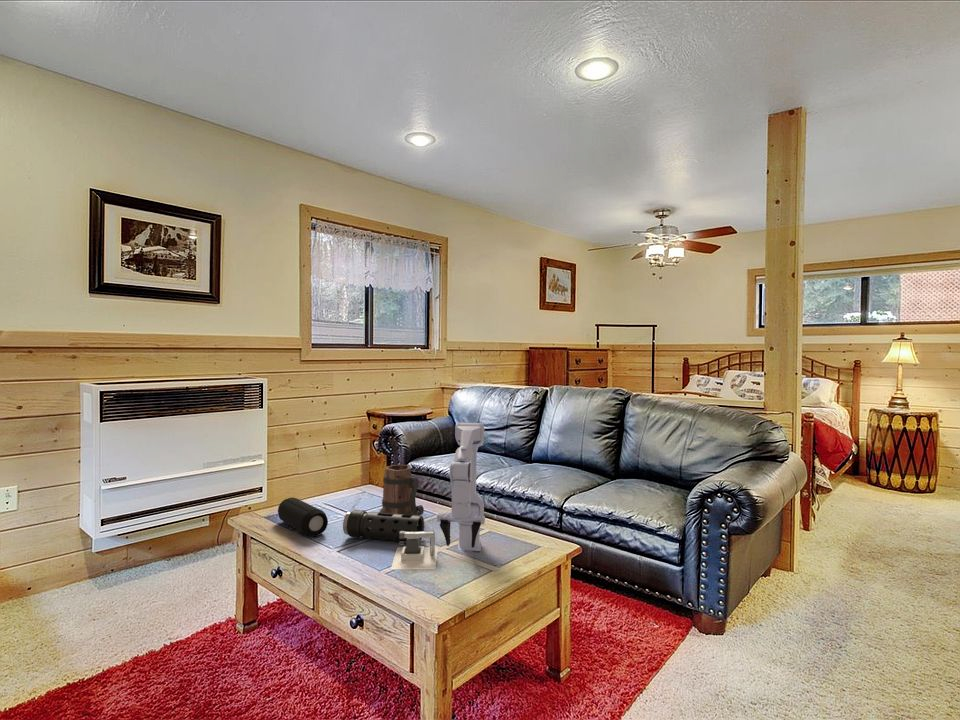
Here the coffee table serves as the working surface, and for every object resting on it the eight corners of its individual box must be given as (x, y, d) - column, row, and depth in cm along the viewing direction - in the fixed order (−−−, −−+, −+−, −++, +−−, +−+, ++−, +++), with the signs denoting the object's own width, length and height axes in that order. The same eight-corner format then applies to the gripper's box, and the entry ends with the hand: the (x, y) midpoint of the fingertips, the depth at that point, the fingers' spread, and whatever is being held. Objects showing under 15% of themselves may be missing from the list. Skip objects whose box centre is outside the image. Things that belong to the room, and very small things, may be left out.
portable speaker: (330, 534, 195) (330, 508, 195) (305, 541, 188) (304, 513, 188) (299, 518, 213) (299, 493, 213) (275, 523, 207) (275, 498, 206)
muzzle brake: (416, 549, 182) (416, 519, 181) (341, 542, 187) (341, 514, 187) (424, 539, 191) (424, 511, 191) (353, 533, 197) (353, 506, 196)
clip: (400, 554, 174) (400, 531, 174) (434, 553, 175) (434, 530, 175) (399, 556, 172) (399, 533, 172) (434, 556, 173) (434, 532, 173)
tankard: (368, 514, 218) (368, 467, 217) (400, 505, 230) (400, 460, 230) (405, 528, 202) (405, 477, 202) (437, 517, 215) (437, 469, 214)
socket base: (397, 548, 181) (397, 541, 181) (437, 548, 182) (437, 541, 182) (390, 571, 163) (390, 563, 163) (435, 570, 164) (435, 562, 164)
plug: (399, 554, 175) (399, 536, 175) (419, 553, 176) (419, 536, 176) (398, 559, 171) (398, 540, 171) (418, 558, 172) (418, 540, 172)
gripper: (434, 504, 156) (434, 549, 156) (482, 506, 153) (482, 552, 154) (439, 497, 162) (439, 540, 163) (486, 499, 160) (485, 543, 161)
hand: (460, 545), depth 159 cm, fingers open, 7 cm apart
